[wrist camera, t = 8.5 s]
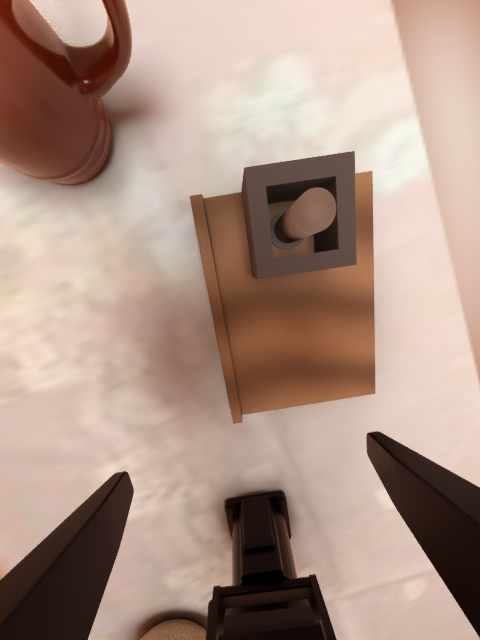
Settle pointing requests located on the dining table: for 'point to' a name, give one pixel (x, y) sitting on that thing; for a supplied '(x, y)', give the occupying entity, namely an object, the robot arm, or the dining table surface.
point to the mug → (57, 93)
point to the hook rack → (289, 304)
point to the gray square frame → (289, 185)
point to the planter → (176, 631)
